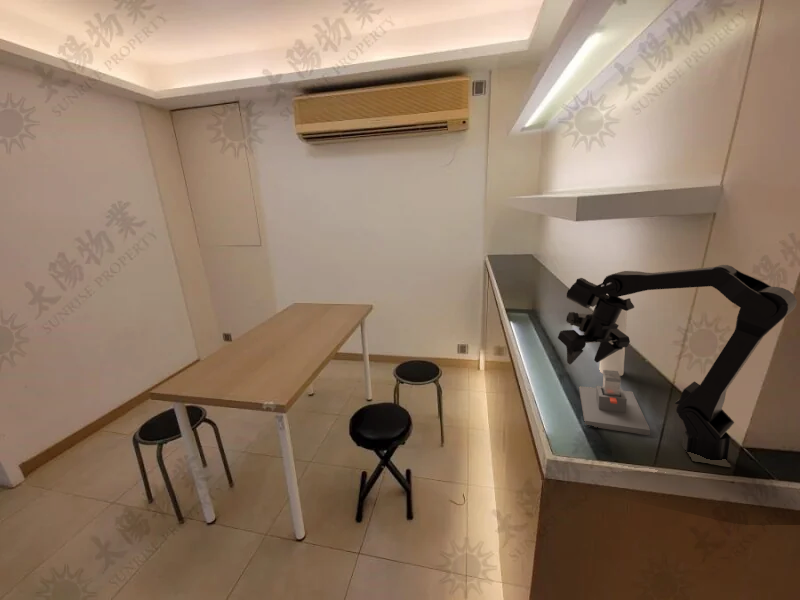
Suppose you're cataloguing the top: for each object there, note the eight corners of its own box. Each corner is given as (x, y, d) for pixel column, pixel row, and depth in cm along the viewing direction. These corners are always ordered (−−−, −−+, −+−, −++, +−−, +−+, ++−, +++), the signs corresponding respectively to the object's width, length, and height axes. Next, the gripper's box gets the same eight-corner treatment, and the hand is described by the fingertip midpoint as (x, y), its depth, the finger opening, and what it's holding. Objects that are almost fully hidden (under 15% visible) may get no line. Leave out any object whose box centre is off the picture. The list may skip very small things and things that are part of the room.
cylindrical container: (609, 366, 119) (612, 299, 114) (628, 373, 112) (632, 303, 107) (594, 370, 117) (597, 302, 112) (612, 378, 110) (616, 306, 105)
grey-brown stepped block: (616, 401, 93) (617, 371, 91) (619, 410, 89) (621, 378, 87) (601, 399, 95) (602, 369, 93) (604, 408, 90) (605, 377, 89)
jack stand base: (632, 396, 98) (633, 379, 97) (649, 435, 80) (651, 415, 79) (579, 390, 104) (579, 374, 103) (585, 425, 86) (585, 406, 85)
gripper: (610, 300, 94) (589, 343, 102) (555, 301, 90) (538, 346, 98) (642, 321, 85) (617, 367, 92) (582, 324, 81) (561, 372, 88)
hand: (582, 362), depth 93 cm, fingers open, 9 cm apart
